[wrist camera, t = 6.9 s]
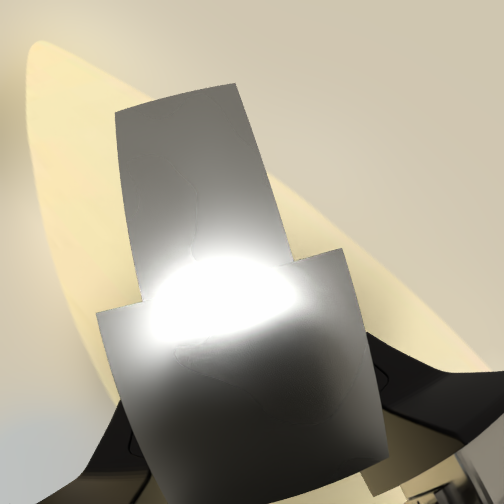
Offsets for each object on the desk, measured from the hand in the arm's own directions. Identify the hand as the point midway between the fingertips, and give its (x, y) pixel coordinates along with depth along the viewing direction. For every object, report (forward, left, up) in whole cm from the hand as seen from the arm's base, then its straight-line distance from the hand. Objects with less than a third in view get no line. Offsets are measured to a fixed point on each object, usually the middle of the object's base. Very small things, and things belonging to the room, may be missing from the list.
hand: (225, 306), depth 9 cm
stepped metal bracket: (0, 0, -7) cm, 7 cm away
